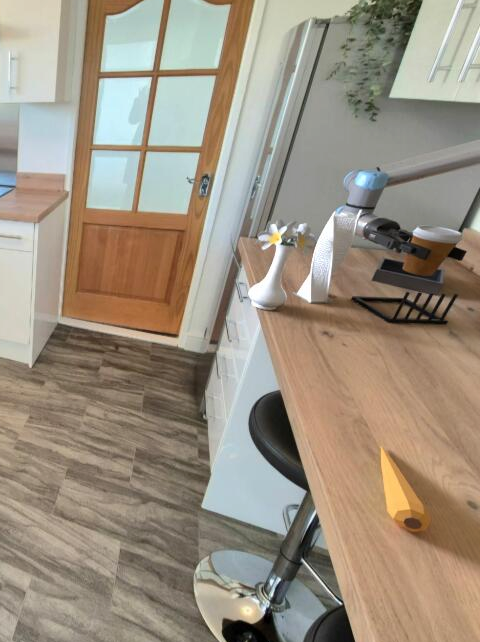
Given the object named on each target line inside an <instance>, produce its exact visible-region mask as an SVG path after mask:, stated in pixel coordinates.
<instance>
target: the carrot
mask: <svg viewBox="0 0 480 642" xmlns="http://www.w3.org/2000/svg"><path fill="white" fill-rule="evenodd" d="M380 466H381V474H382V482H383V489H384V496H385V497H384V498H385V502H386V503H385V504H386V511H387V514H389V516H390V517H391V518H392V520H393V522H394V523H395V525H397V526H398V527H399V528H400V529H404V530H406V531H409V532H411V533H416V532H417V533H418V532H425V531H427V530H428V528H429V526H430V525H431V522H432V516H431V514H430V513H429V512H428V510H427V508H426V507H425V505H424V504H423V502H422V501H421V499H420V498H419V497H418V495H417V494H416V492H415V490H414V489H413V487H412V486H411V485H410V483H409V481H408V480H407V479H406V477H405V475H404V474H403V472H401V470H400V468H399V467H398V465H397V463H395V461H394V460H393V458H392V457H391V456H390V455H389V453H388V452H387V451H386V449H385V448H384V447H383V446H382V445H380Z"/></svg>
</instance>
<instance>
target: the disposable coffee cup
mask: <svg viewBox="0 0 480 642" xmlns="http://www.w3.org/2000/svg"><path fill="white" fill-rule="evenodd" d="M412 233H413V237H412V241H411V243H414V244H416V245H419V246H422V247H424V248H427V249H429V250H431V252H430V254H429V256H428V258H427V260H423V259H420V258H418V257H415V256H413V255H411V254H408V253H406V256H405V258H404V259H405V260H404V261H403V262H404V265H403V268H402V269H403V270H405V271H407V272H410V273H413V274H417V275H424V276H431V275H433V274H434V273H435V271H436V270H437V269H439V268H440V266H441V265H442V264H443V262H444V261H445V260H446V258H448V254H449V253H450V252H451V250H452V249H453V248H454V247H456V246H457V244H459V243H460V242H461V241H462V240H463V238H462V236H463V233H462V232H460V231H458V230H455V229H453V228H452V229H451V228H447V227H441V226H434V225H418V226H417V227H416V228H415V229H413V230H412Z"/></svg>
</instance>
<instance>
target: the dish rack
mask: <svg viewBox="0 0 480 642" xmlns="http://www.w3.org/2000/svg"><path fill="white" fill-rule="evenodd" d="M422 294H423V292H417V294H416V296H415V297H414V300H410V299H408V297H409V295H410V292H409V291H406V292H405V294H404V295H403V297H390V296H389V297H388V296H384V297H383V296H361V295H359V296H358V295H352V296H351V298H350V300H351V301H352V300H353V301H352V302H354V303H355V304H357V303H358V304H357V305H359V306H360V305H361V306H360V307H362V308H364V309H365V308H366V309H365V310H367V309H368V310H367V311H369V312H370V313H372V314H373V313H374V314H373V315H374V316H376V317H378V316H379V317H378V318H380V319H381V318H382V319H381V320H383V319H384V320H383V321H385V322H386V323H388V324H410V323H414V324H415V325H439V326H440V325H441V326H447V325H448V323H449V320H447V319H445V318H446V316H447V315H448V314H449V312H450V310H451V308H452V306H453V305H454V303H455V301H456V300H457V298H458V296H459V293H454V294H453V296H452V297H451V298H450V301H449V302H448V304H447V306H446V308H445V309H444V312H443V313H442V314H441V316H440V315H438V314H436V312H437V311H438V309H439V308H440V305H441V304H442V302H443V301H444V299H445V297H446V296H447V293H444V292H442V293H441V295H440V297H439V298H438V300H437V302H436V303H435V305H434V308H433V309H432V310H428V309H427V308H428V305H429V303H430V302H431V300H432V298H433V297H434V296H435V295H434V293H430V294H428V296H427V297H426V299H425V302H424V303H423V305H422V306H421V305H420V304H417V303H418V302H419V300H420V298H421V296H422ZM366 301H382V302H381V303H394V302H397V304H399V305H398V307H397V309H396V310H395V312H394V315H392V316H390V315H387V314H386V313H384V312H383V311H381V310H379V309H378V308H376V307H374V306H373V305H371V304H369V303H368V302H366ZM404 305H406V306H407V307H409V306H410V307H409V309H408V311H407V312H406V314H405V316H404V317H398V316H399V314H400V313H401V312H402V311H401V310H402V309H403V307H404ZM413 310H415V311H417V312H418V314H417V316H416V317H410V316H411V314H412V312H413ZM423 315H424V316H425V317H428V318H422V316H423Z"/></svg>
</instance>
